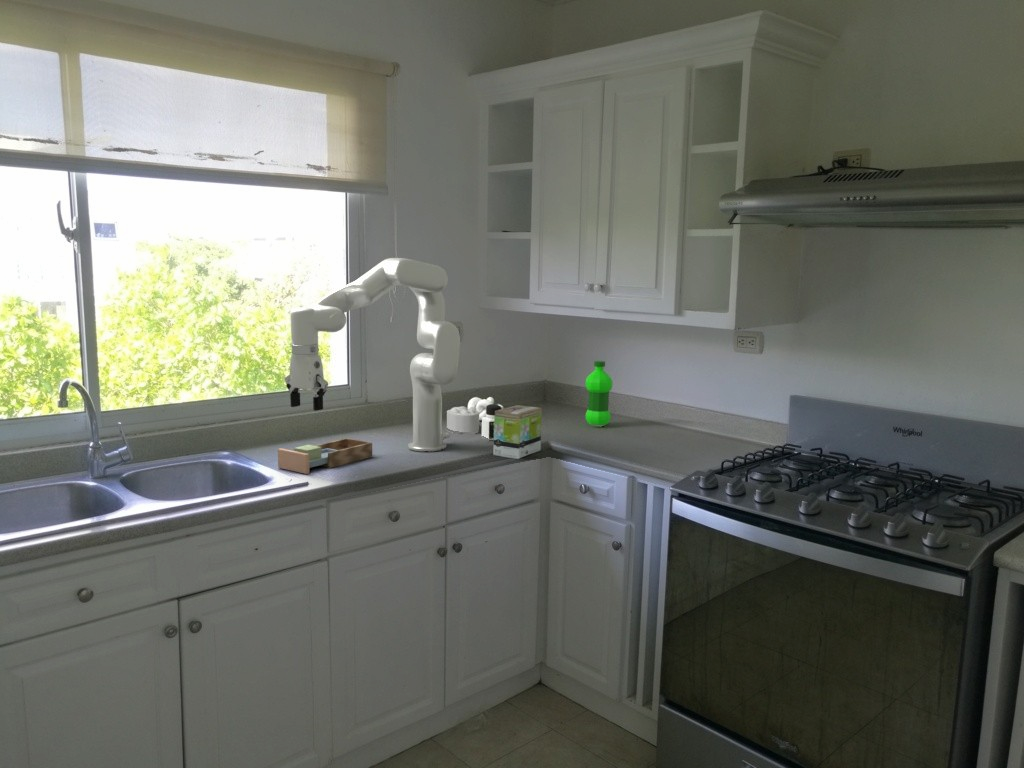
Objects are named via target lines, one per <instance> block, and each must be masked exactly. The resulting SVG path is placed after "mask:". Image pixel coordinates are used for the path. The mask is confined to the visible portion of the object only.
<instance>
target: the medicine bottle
mask: <svg viewBox="0 0 1024 768" xmlns="http://www.w3.org/2000/svg"><path fill="white" fill-rule="evenodd" d="M500 409H504V406H503V405H502V404H499V403H494V404H490V405H487V406H486V416H487V417H482V422H481V437H482V436H484V437H486V438H488V439H492V438H494V419H495V411H496V410H500Z"/></svg>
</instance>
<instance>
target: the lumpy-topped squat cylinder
mask: <svg viewBox="0 0 1024 768" xmlns="http://www.w3.org/2000/svg"><path fill="white" fill-rule="evenodd" d="M447 428H448V429H450V430H453V431H459V432H476V431H478V430H479V431H480V422H479V412H478V411H476V406H475V407H470V408H469V409H468V407H466V406H461V405H460V406H454V407H452V408H451V409H448V410H446V429H447Z"/></svg>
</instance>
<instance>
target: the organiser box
mask: <svg viewBox="0 0 1024 768" xmlns="http://www.w3.org/2000/svg"><path fill="white" fill-rule="evenodd" d="M314 446H318V447H321V449H325V448H329V449H335V450H338V451H333V452H329V453H328V463H326V464H323V465H319V467H323V468H328V469H331V468H335V467H339V466H343V465H346V464H350V463H353V462H357V461H361V459H362V460H364V458H366V459H368V457H369V458H372V457H373V442H370V441H364V440H359V439H354V438H349V437H346V438H342V439H337V440H333V441H328V442H324V443H321V444H316V445H314Z"/></svg>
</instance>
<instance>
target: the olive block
mask: <svg viewBox="0 0 1024 768" xmlns="http://www.w3.org/2000/svg"><path fill="white" fill-rule="evenodd" d="M293 451H297V452H301V453H306V454H309V461H311V460H315V459H319V458H321V447H318V446H315V445H313V444H305V445H301V446H297V447H294V448H293Z"/></svg>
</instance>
